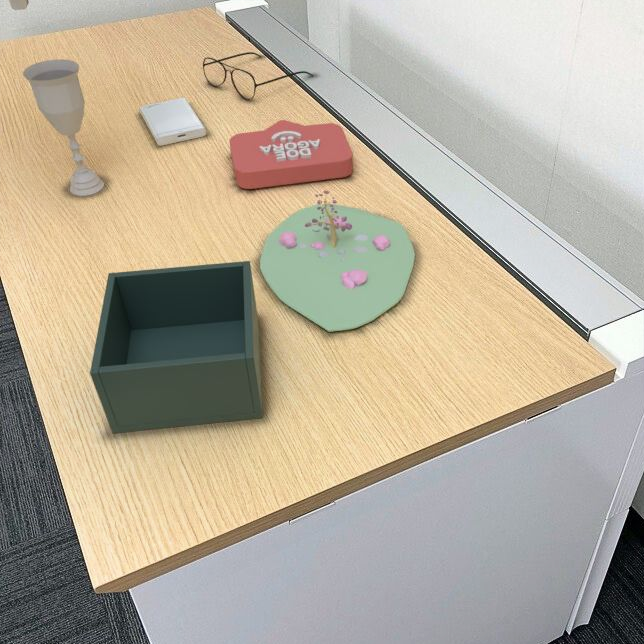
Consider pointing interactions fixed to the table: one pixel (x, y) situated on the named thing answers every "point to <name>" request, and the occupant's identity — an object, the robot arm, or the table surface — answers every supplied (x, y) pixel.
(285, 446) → the table surface
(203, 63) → the glasses
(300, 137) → the plaque
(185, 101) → the hard drive
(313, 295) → the plant
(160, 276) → the tub
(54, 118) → the chalice
